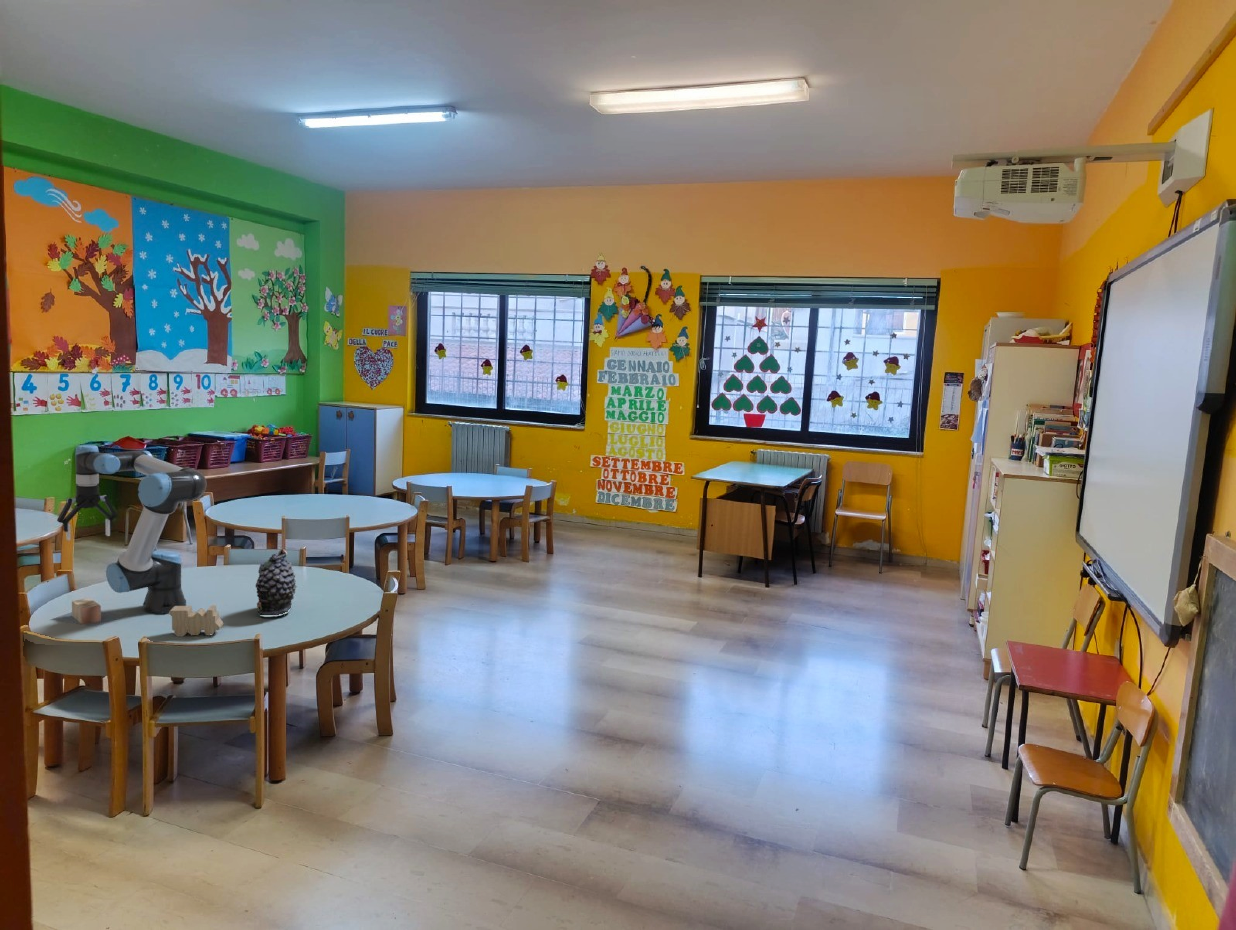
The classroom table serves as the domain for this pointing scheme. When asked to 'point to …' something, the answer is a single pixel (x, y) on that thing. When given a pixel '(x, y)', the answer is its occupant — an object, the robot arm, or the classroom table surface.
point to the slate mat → (104, 619)
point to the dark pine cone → (275, 585)
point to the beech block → (86, 611)
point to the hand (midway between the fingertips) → (88, 537)
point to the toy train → (195, 620)
